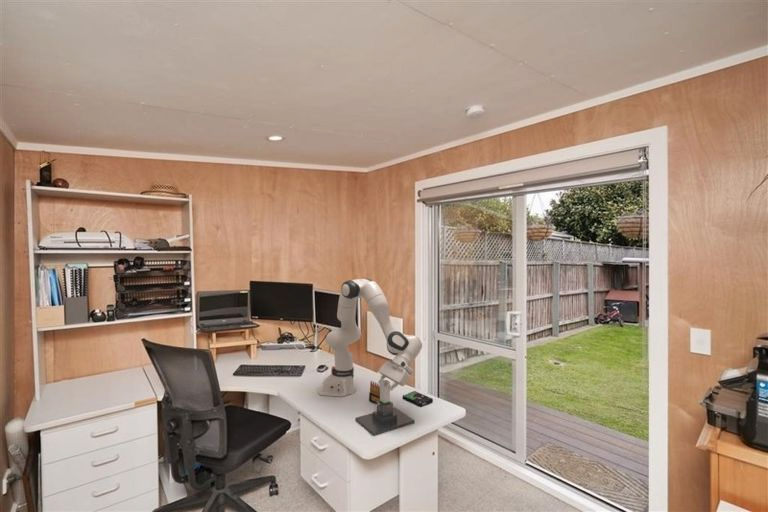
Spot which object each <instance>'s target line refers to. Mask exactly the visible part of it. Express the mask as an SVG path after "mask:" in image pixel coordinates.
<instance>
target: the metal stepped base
mask: <svg viewBox="0 0 768 512" xmlns="http://www.w3.org/2000/svg"><path fill="white" fill-rule="evenodd" d="M354 419H355V422H357V423H358V425H360V427H362V428H363V427H364V428H363V429H365V430H366V431H367V432H368V433H369V434H370V435H371V436H372V437H375V436H379V435H382V434H384V433H385V434H386V433H388V432H391V431H394V430H397V429H400V428H404V427H406V426H411V425H413V424H415V419H413V418H412V417H410V416H409V415H407V414H406V413H404V411H401V410H400V409H399V408H397V407H395V406H394V403H393V402H391V401H390V403H389V404H386V405H383V404H381V403H380V401H377V404H376V410H375V411H372V412H371V413H367V414H364V415H361V416H356V417H355V418H354Z"/></svg>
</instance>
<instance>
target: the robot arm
mask: <svg viewBox="0 0 768 512" xmlns="http://www.w3.org/2000/svg"><path fill="white" fill-rule="evenodd" d="M361 298H363V299H364V301H365V302H366V303H365V304H367V307H368V309H369V310H370V312H371V314H372V315H373V316H374V318H375V320H377V322H378V324H379V327H380V328H381V330H382V333H383V334H384V335H383V336H384V337H385V339H386V349H387V351H388V353H389V354H390V355H393V356H395V357H394V358H393V359H388V360H387V361H385V363H383V364H382V365H381V366H380V367H379V369H378V372H379V374H380V378H379V380H378V382H377V383H378V384H380V381H384V380H386V378H387V379H389V380H390V381H392V382H393V383H392V384H390V386H389V387H388V389H389V390H390V392H391V391H393V390H394V389H395V388H397V387H398V385H399V386H401V387H404V386H405V385H406V384H407V383H408V382H409V380H410V379H411V375H413V374H414V370H413V368H412V367H411V365H412V364H413V361H414V360H416V358H417V357H418V355H419V354H420V352H421V350H422V349H423V343H422V342H421V340H420V338H419V337H417V336H416V335H414V334H411V335H410V334H405V333H402V332H400V331H397V330H395V328H394V325H393V323H392V321H391V317H390V308H389V303H388V299H387V297H386V295H385V293H384V291H383V290H382V288H381V286H380V285H379V284H378V283H377V282H376V281H374V280H372V279H371V278H370V279H369V278H357V279H349V280H346V281H344V282H343V283H342V284H341V287H340V294H339V298H338V303H337V312H336V318H337V320H338V321H340V324H341V326H340V328H336V329H335V328H334V329H333V330H331V331H329V332H328V333H327V334H326V336H325V337H326V338H325V342H326V344H327V346H328V347H329V348H331V350H332V351H333V352H332V353H333V357H334V366H332V367H331V374H329V375H328V376H326V377H325V378H324V380H323V381H322V385H321V386H320V387H319V388H318V391H317V393H318V395H319V396H325V397H326V396H327V397H339V398H340V397H343V398H344V397H346V396H348V395H352V394H355V392H357V391H356V386H355V381H354V380H355V379H354V376H355V370H354V368H355V367H354V355H353V353H352V352H351V351H350V350H349V345H351V344H354V343H356V342H358V340H360V339H361V337H362V332H361V329H360V327H358V325H357V321H356V316H357V315H356V314H357V302H358V299H361Z"/></svg>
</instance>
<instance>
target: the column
mask: <svg viewBox="0 0 768 512" xmlns="http://www.w3.org/2000/svg"><path fill="white" fill-rule="evenodd" d="M379 385H380V403H381V404H383V405H386V404H389V403H390V402H391V401H390V400H391V390H389V389H388V387H389V386H390V385H391V382H390V381H389V380H387V379H383V381H380V383H379Z"/></svg>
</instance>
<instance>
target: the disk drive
mask: <svg viewBox="0 0 768 512" xmlns="http://www.w3.org/2000/svg"><path fill="white" fill-rule="evenodd" d="M402 400H404V401H406V402H409V403H411V404H413V405H414V406H417V407H419V408H423V407H425V406H428V405H431V404H432V403H434V399H433V398H432V397H430V396H428V395H425V394H422V393H420V392H418V391H417V390H416V391H415V390H414V391H410V392H408V393H406V394H403V395H402Z"/></svg>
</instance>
